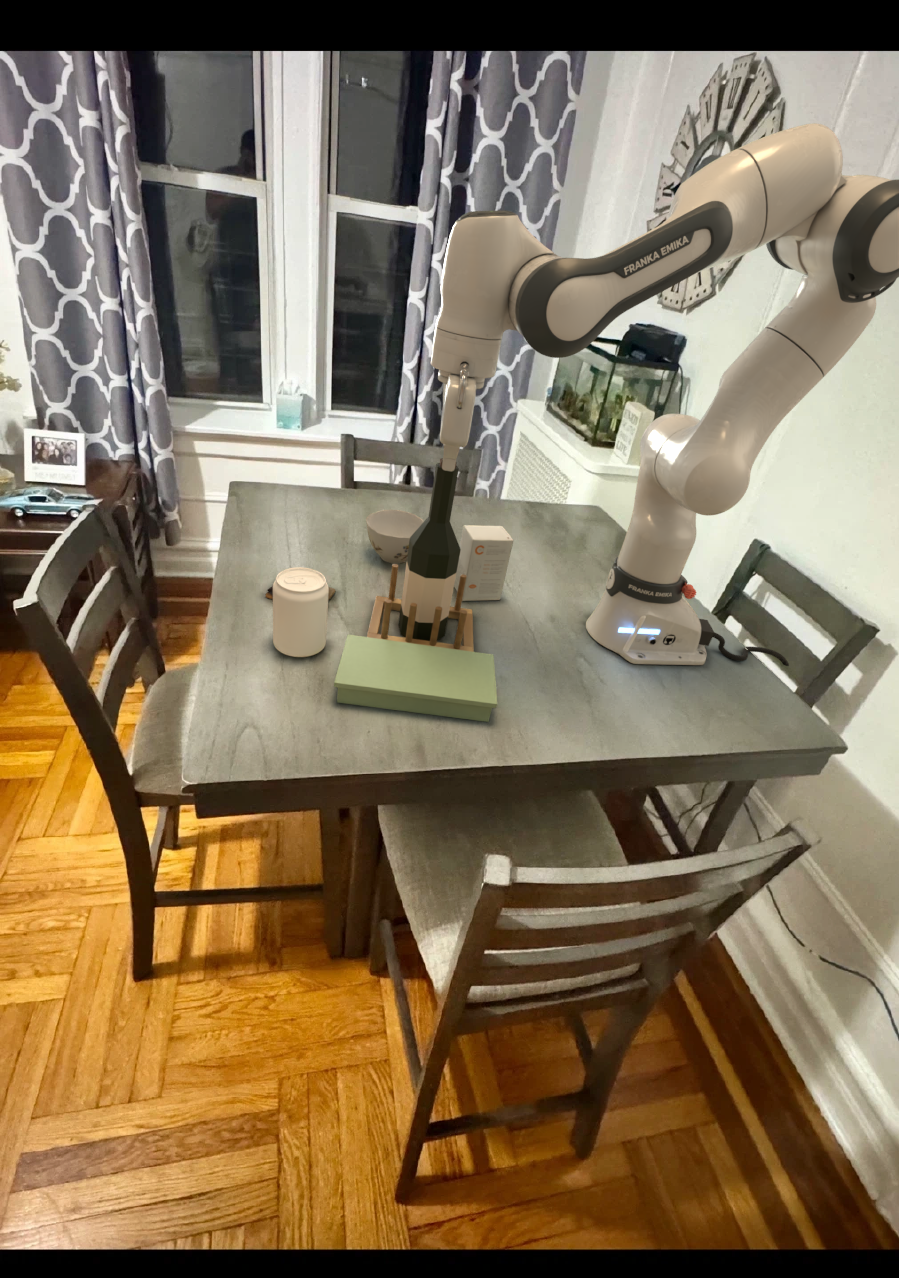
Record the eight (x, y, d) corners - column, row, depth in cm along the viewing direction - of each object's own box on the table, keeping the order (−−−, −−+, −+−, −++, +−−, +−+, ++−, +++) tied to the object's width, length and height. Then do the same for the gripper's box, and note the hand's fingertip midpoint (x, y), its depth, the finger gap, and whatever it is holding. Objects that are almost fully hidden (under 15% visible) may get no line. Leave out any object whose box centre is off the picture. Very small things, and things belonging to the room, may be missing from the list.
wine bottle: (439, 649, 100) (471, 475, 84) (391, 637, 101) (413, 462, 84) (449, 623, 107) (480, 459, 91) (404, 612, 108) (427, 447, 91)
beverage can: (326, 660, 93) (330, 594, 87) (272, 660, 91) (271, 592, 85) (324, 630, 100) (328, 567, 93) (274, 629, 98) (273, 564, 91)
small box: (489, 584, 122) (502, 525, 115) (500, 600, 117) (514, 540, 110) (452, 584, 119) (462, 524, 112) (461, 601, 115) (473, 539, 107)
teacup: (367, 571, 118) (370, 534, 114) (360, 542, 128) (363, 507, 124) (440, 573, 123) (446, 537, 118) (428, 545, 132) (433, 511, 128)
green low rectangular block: (488, 674, 97) (493, 654, 95) (491, 724, 87) (497, 704, 85) (346, 655, 95) (347, 634, 93) (332, 704, 85) (334, 682, 83)
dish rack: (470, 616, 111) (479, 575, 106) (471, 660, 99) (481, 616, 95) (375, 603, 109) (379, 561, 104) (365, 645, 98) (370, 600, 93)
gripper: (491, 376, 71) (470, 487, 79) (485, 348, 88) (468, 442, 96) (439, 366, 71) (423, 479, 79) (443, 340, 88) (429, 435, 95)
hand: (448, 458), depth 87 cm, fingers open, 8 cm apart
